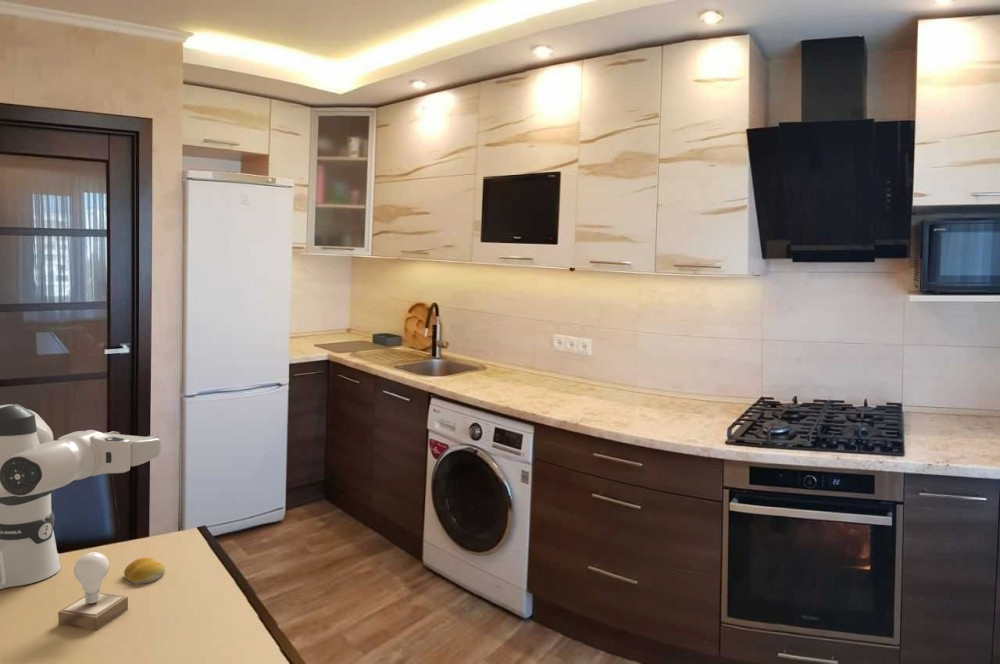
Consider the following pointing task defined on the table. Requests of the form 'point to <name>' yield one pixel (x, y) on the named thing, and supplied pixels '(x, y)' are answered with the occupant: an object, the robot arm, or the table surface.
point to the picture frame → (93, 612)
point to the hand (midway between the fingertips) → (136, 436)
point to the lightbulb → (91, 574)
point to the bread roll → (144, 570)
